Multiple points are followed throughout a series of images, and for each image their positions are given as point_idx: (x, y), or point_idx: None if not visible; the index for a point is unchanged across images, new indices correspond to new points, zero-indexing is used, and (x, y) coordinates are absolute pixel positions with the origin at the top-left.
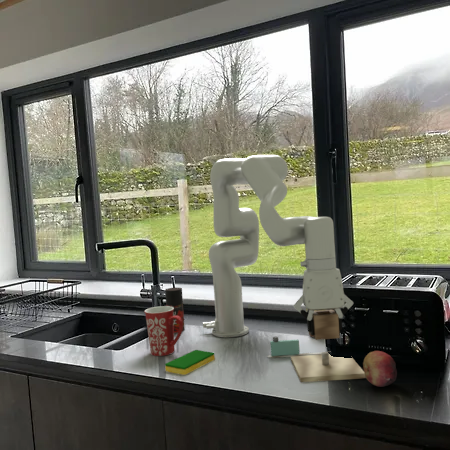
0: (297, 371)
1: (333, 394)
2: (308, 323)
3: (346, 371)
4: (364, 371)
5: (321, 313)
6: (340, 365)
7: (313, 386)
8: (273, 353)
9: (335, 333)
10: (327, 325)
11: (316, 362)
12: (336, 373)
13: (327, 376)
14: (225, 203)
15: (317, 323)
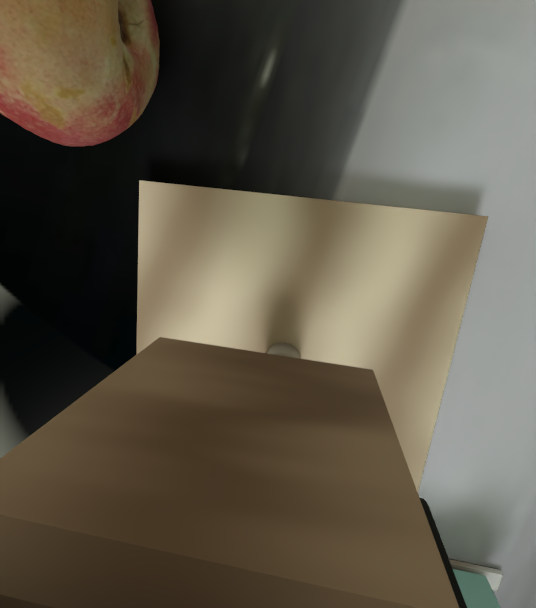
0: (462, 314)
1: (374, 3)
2: (456, 583)
3: (218, 232)
4: (147, 74)
5: None
6: (219, 321)
7: (432, 144)
8: (479, 585)
9: (175, 360)
10: (228, 420)
11: None
12: (276, 219)
13: (333, 201)
14: None
15: (373, 476)
